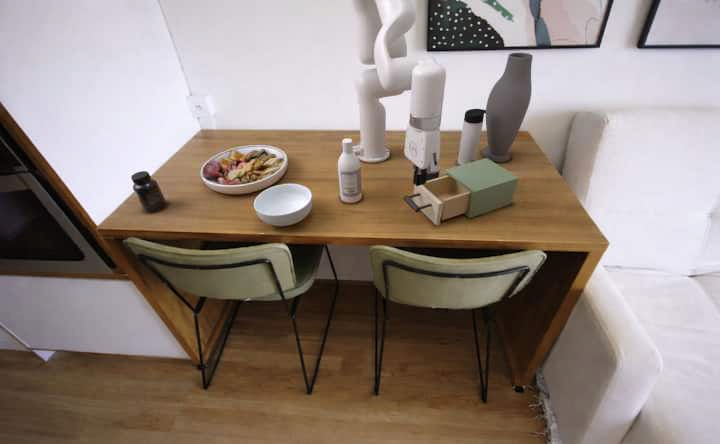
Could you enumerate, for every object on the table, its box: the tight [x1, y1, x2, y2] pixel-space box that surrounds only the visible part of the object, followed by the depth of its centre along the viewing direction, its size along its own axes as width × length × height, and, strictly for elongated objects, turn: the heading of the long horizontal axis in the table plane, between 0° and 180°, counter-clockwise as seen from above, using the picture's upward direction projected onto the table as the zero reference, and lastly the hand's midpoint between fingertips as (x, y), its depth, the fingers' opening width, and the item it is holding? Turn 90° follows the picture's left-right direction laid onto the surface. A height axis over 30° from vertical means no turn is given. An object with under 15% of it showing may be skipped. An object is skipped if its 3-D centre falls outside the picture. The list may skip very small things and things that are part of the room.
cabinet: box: [443, 157, 519, 219], centre depth 104 cm, size 16×14×9 cm
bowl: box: [200, 144, 289, 195], centre depth 123 cm, size 30×30×8 cm
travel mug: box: [457, 108, 486, 166], centre depth 118 cm, size 6×7×20 cm
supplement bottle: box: [130, 170, 168, 213], centre depth 108 cm, size 7×7×12 cm
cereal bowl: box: [253, 183, 314, 227], centre depth 102 cm, size 17×17×7 cm
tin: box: [426, 164, 441, 181], centre depth 116 cm, size 7×7×5 cm
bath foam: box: [337, 137, 363, 204], centre depth 105 cm, size 7×7×20 cm
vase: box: [481, 52, 534, 163], centre depth 118 cm, size 13×13×35 cm
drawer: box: [402, 175, 472, 226], centre depth 100 cm, size 20×13×7 cm, turn 114°
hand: (419, 183), depth 94 cm, fingers closed
